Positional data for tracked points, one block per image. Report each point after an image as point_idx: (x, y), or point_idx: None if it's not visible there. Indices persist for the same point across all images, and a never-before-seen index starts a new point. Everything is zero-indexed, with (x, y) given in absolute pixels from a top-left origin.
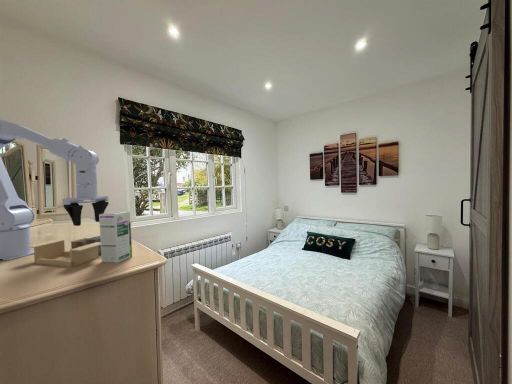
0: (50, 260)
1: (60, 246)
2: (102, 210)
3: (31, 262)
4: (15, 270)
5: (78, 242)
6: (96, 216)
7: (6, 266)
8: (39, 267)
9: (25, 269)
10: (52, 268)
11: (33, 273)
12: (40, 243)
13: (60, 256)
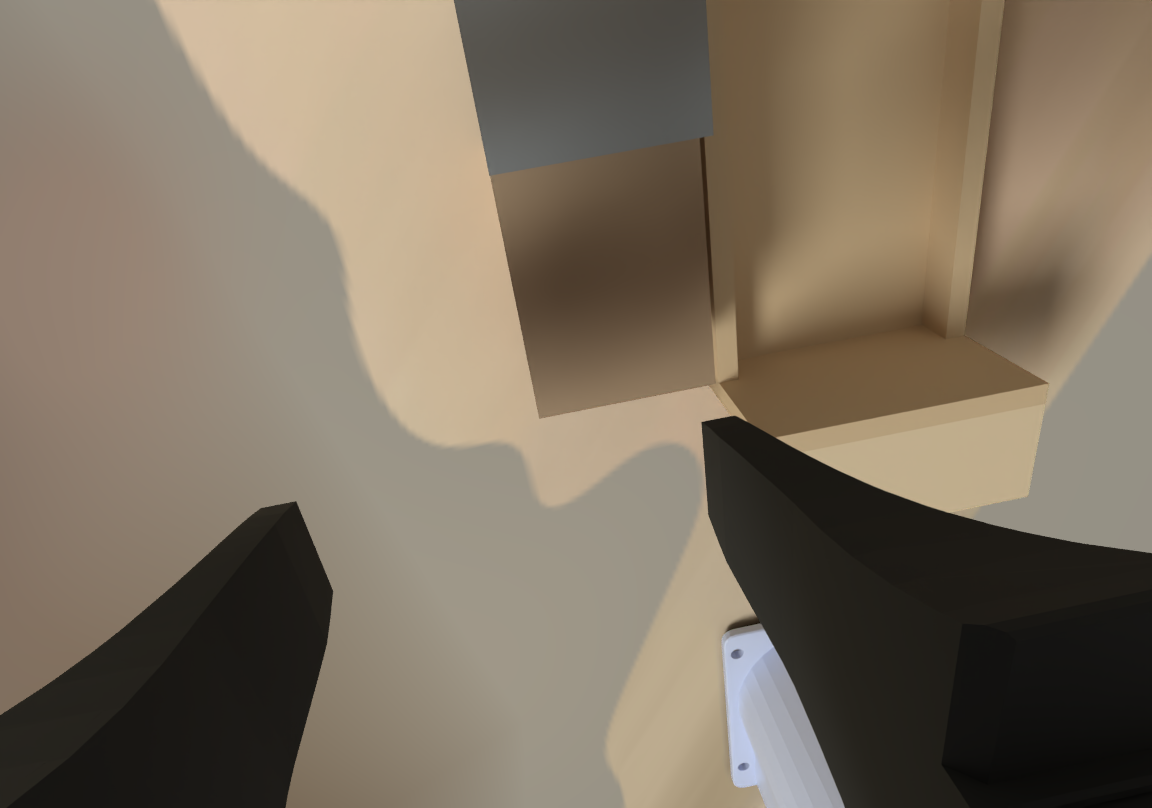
0: (983, 143)
1: (778, 403)
2: (143, 661)
3: None
4: (1076, 282)
5: (705, 262)
6: (296, 656)
7: None
8: (1006, 174)
9: (1054, 232)
10: (1022, 2)
11: (1141, 23)
12: (927, 498)
13: (756, 342)
